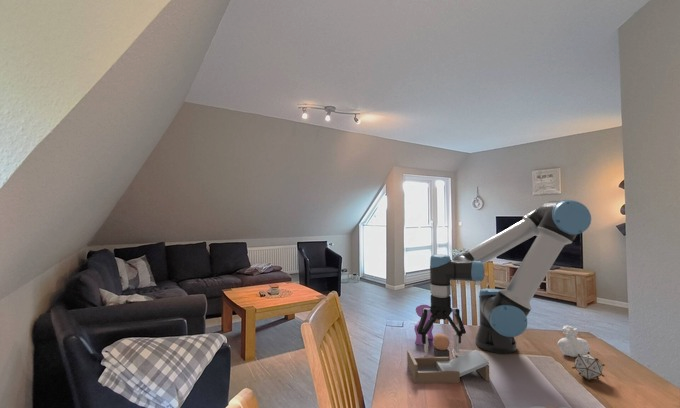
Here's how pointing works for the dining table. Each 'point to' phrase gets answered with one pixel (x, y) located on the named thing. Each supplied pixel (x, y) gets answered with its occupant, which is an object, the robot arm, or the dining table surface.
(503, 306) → the robot arm
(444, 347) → the ball
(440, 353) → the square sleeve
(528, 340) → the dining table surface
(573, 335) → the bust
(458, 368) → the ramp with walled tray
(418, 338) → the toy chair
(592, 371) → the game die
